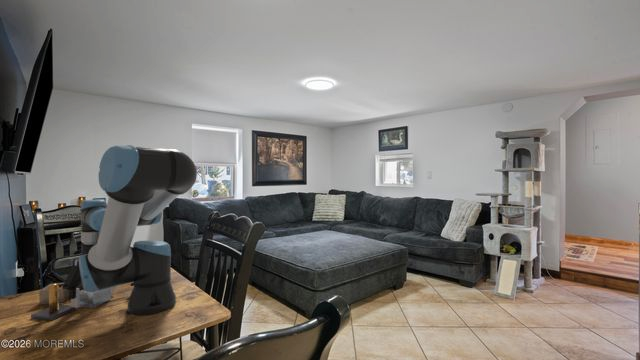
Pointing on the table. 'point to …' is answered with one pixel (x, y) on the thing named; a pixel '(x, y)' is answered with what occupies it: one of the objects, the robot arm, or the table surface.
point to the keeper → (53, 306)
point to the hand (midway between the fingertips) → (94, 298)
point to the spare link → (45, 294)
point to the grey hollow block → (94, 297)
